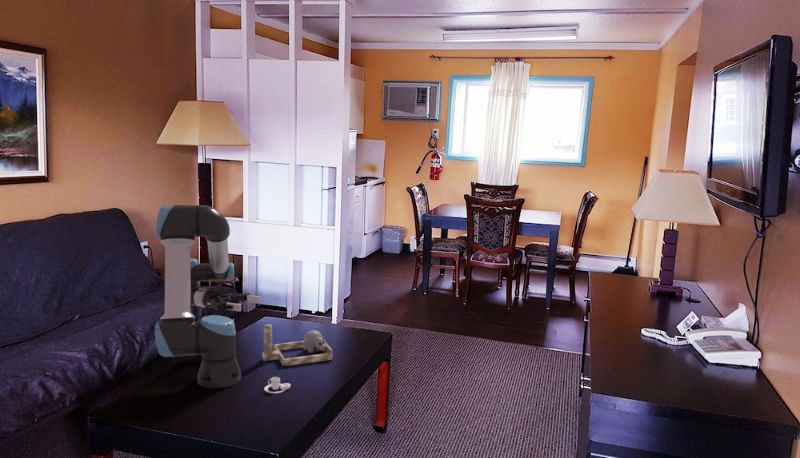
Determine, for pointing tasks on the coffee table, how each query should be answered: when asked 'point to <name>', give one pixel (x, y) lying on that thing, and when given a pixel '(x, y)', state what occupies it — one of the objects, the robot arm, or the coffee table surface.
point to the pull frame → (276, 354)
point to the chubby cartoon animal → (314, 341)
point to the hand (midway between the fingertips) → (251, 303)
